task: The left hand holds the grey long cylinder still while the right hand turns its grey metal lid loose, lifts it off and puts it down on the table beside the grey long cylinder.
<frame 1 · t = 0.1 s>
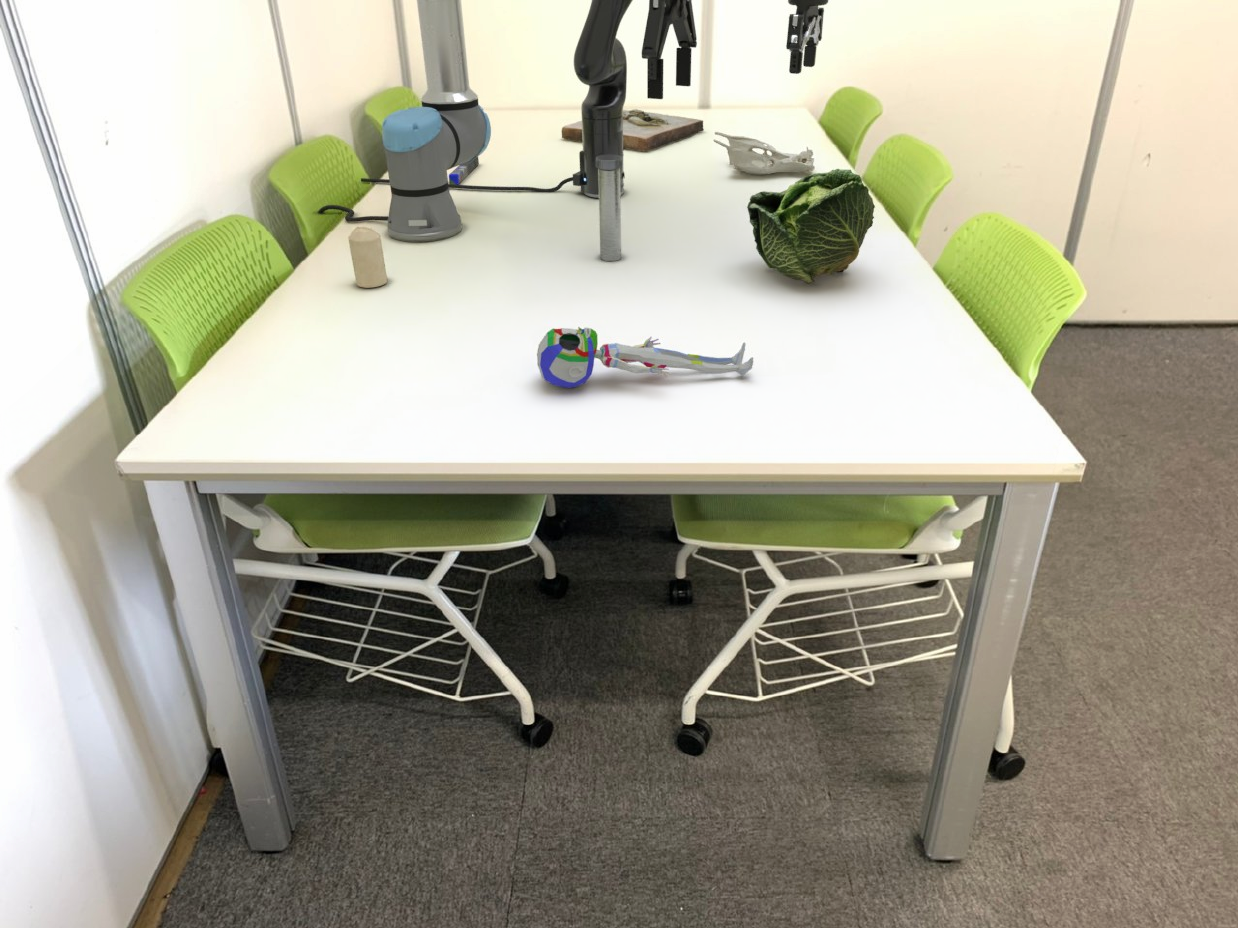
left hand: (669, 92, 165), 28 cm above the table, tool pointing down, fingers open, 13 cm apart
right hand: (802, 70, 176), 29 cm above the table, tool pointing down, fingers open, 8 cm apart
plaque: (633, 136, 259), on the table
vegetable: (806, 275, 162), on the table
candle: (372, 283, 162), on the table
grey long cylinder: (610, 257, 172), on the table
lid: (608, 159, 162), point 18 cm above the table, screwed on, not yet turned
toy: (644, 378, 129), on the table
pillar: (464, 174, 225), on the table
anatomical model: (762, 172, 223), on the table
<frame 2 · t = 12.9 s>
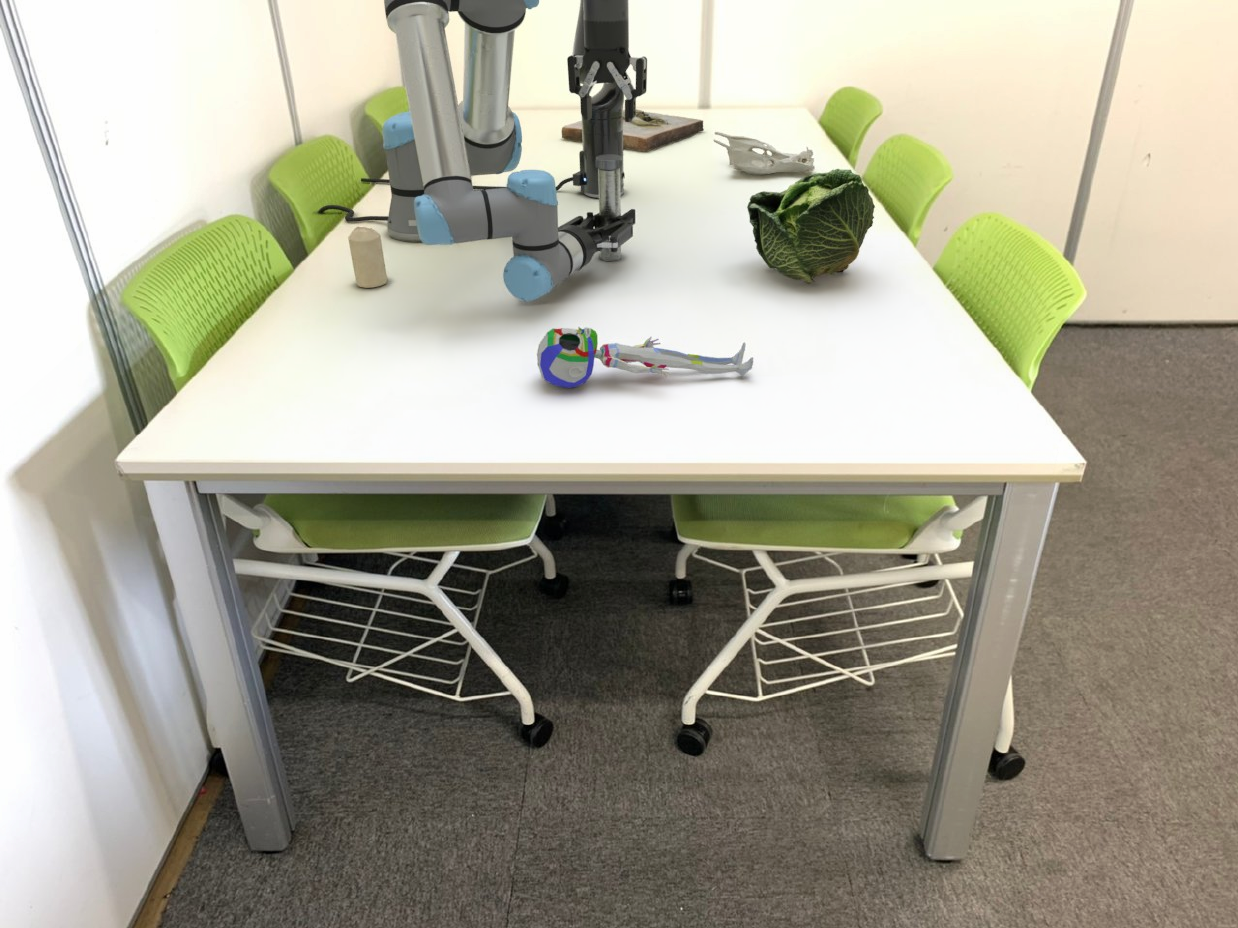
left hand: (622, 214, 172), 7 cm above the table, tool horizontal, fingers closed on grey long cylinder, 4 cm apart
right hand: (608, 120, 158), 25 cm above the table, tool pointing down, fingers open, 7 cm apart
grey long cylinder: (610, 257, 172), on the table, touching left hand
everything else where it was.
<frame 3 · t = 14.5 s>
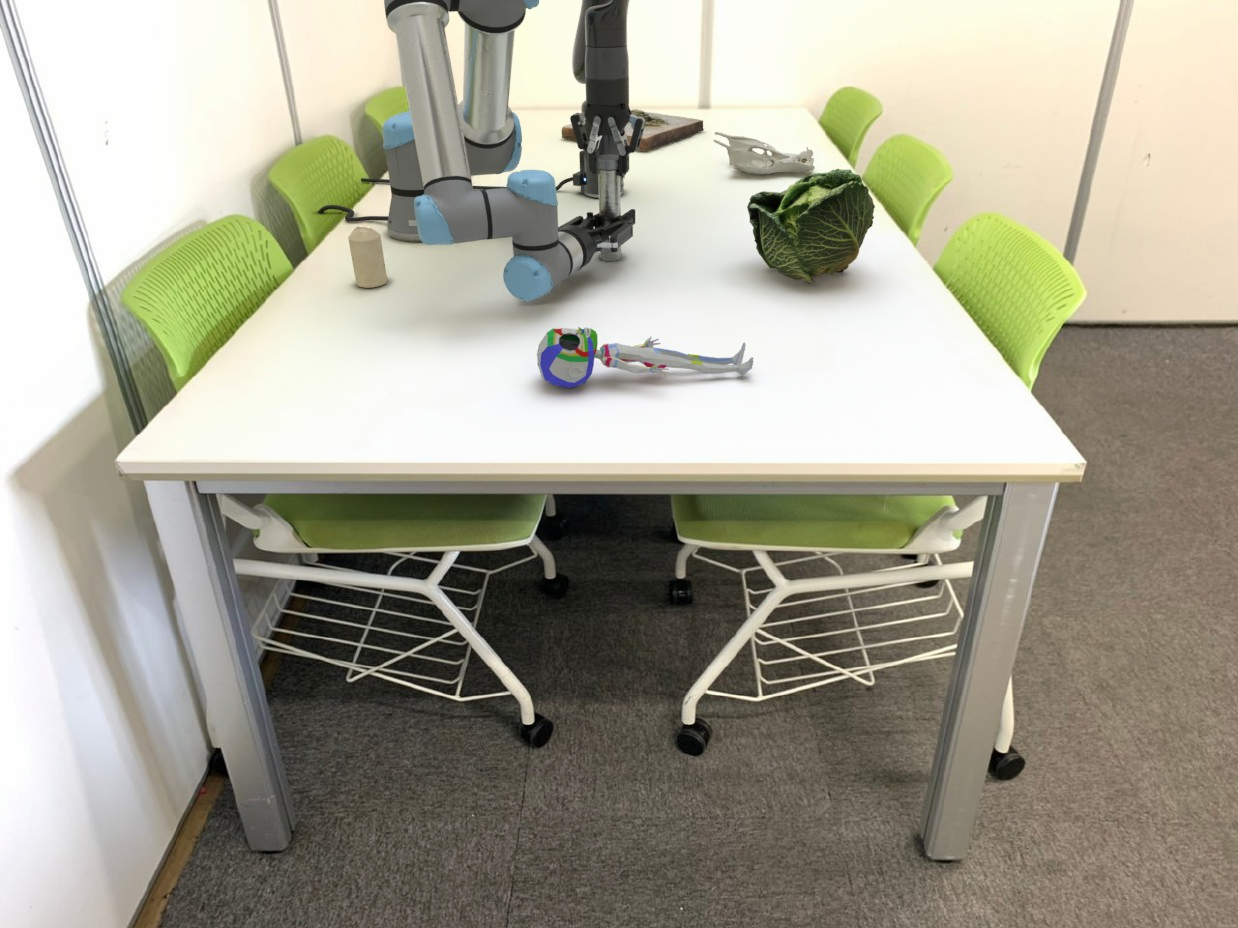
left hand: (622, 214, 172), 7 cm above the table, tool horizontal, fingers closed on grey long cylinder, 4 cm apart
right hand: (609, 174, 163), 16 cm above the table, tool pointing down, fingers closed on lid, 4 cm apart
grey long cylinder: (610, 257, 172), on the table, touching left hand
lid: (608, 159, 162), point 18 cm above the table, screwed on, not yet turned, touching right hand
everything else where it was.
when the right hand's fingers open (16 cm above the table, at t = 15.9 s): lid stays where it is, point 19 cm above the table.
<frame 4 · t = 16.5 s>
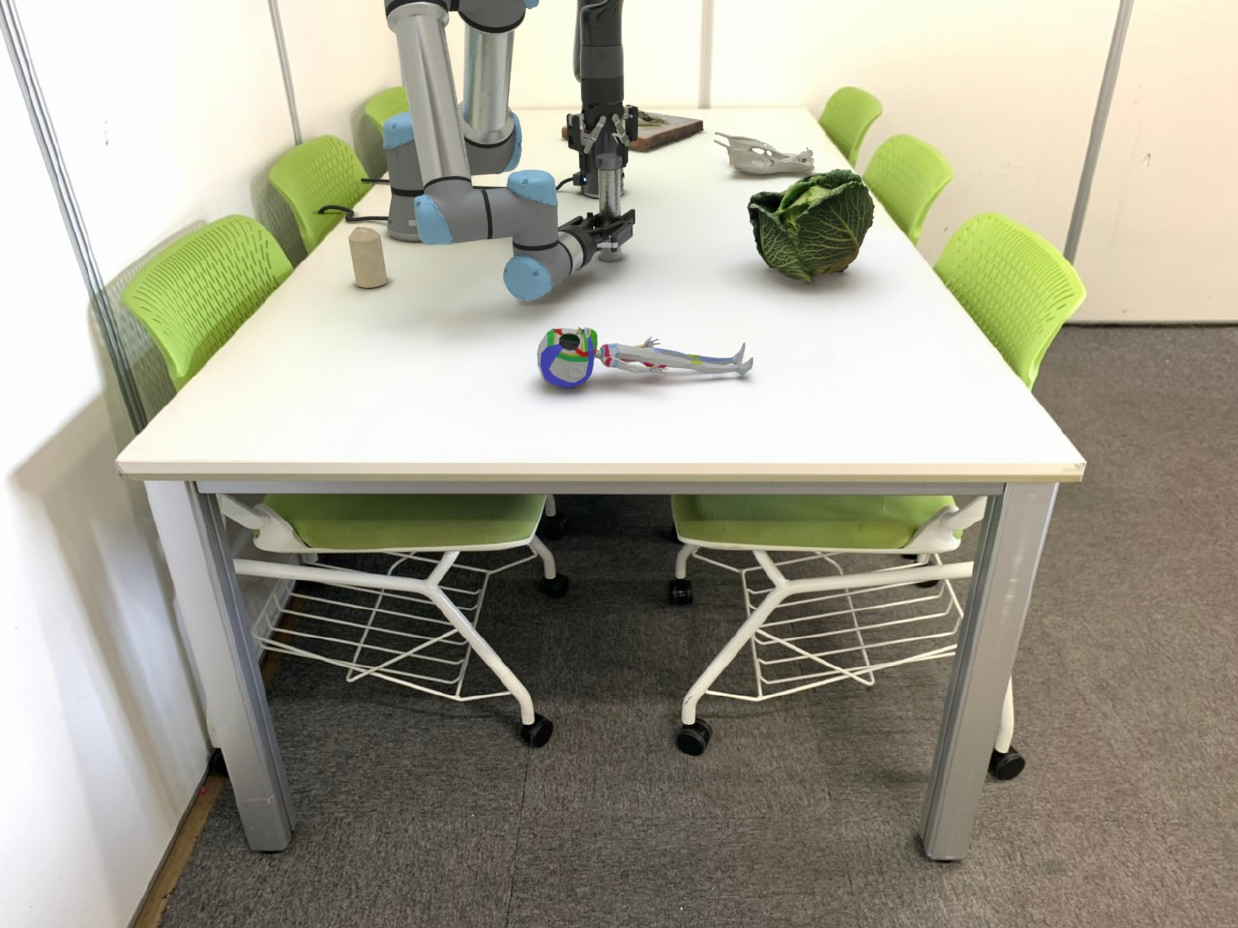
left hand: (622, 214, 172), 7 cm above the table, tool horizontal, fingers closed on grey long cylinder, 4 cm apart
right hand: (604, 170, 163), 17 cm above the table, tool pointing down, fingers open, 7 cm apart
grey long cylinder: (610, 257, 172), on the table, touching left hand
lid: (608, 158, 162), point 19 cm above the table, turned 81° so far, risen 0.2 cm, still on its thread
everything else where it was.
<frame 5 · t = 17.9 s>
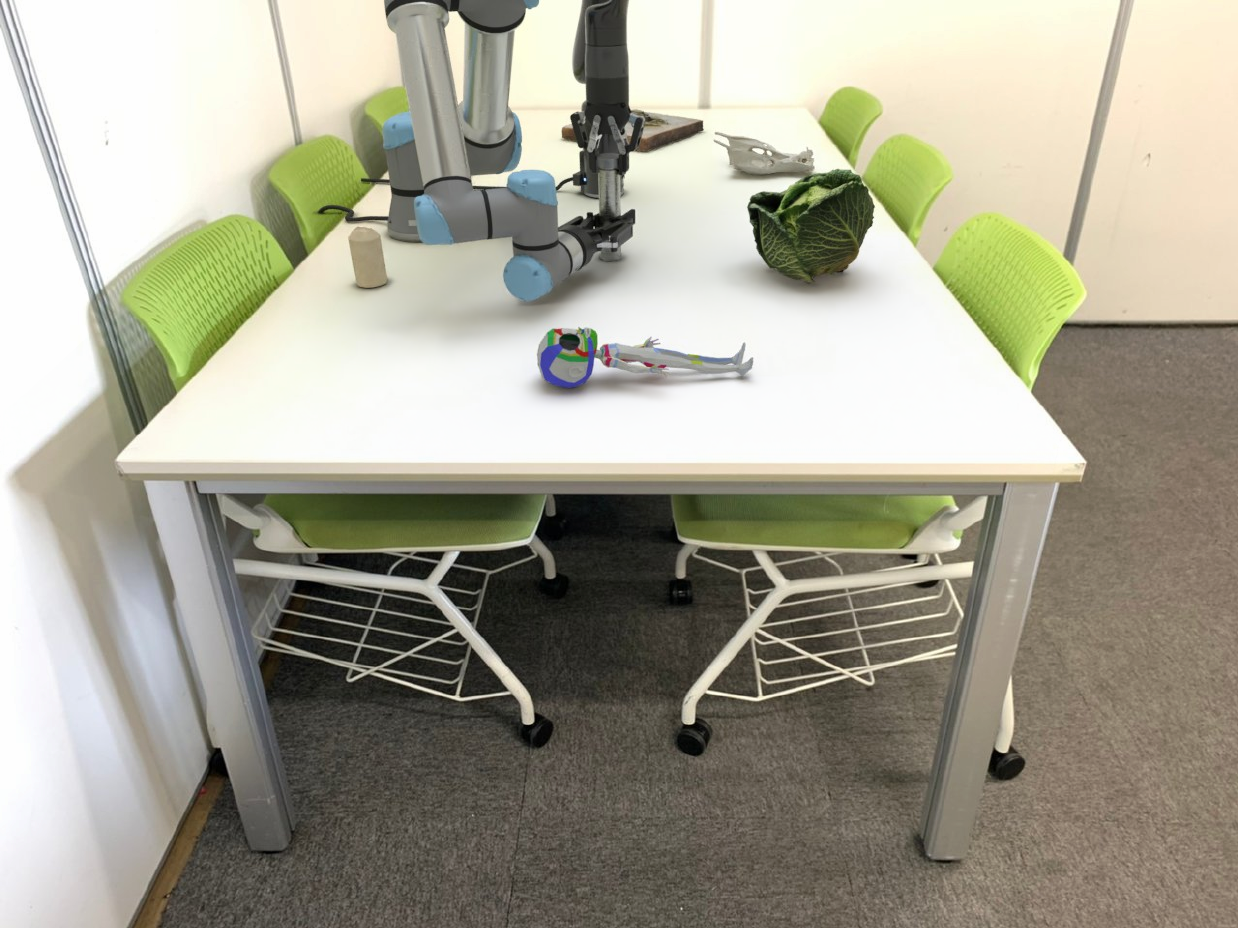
left hand: (622, 214, 172), 7 cm above the table, tool horizontal, fingers closed on grey long cylinder, 4 cm apart
right hand: (609, 173, 163), 16 cm above the table, tool pointing down, fingers closed on lid, 4 cm apart
grey long cylinder: (610, 257, 172), on the table, touching left hand
lid: (608, 158, 162), point 19 cm above the table, turned 81° so far, risen 0.2 cm, still on its thread, touching right hand
everything else where it was.
when the right hand's fingers open (0 cm above the table, at t = 24.4 s): lid drops 2 cm, point 1 cm above the table.
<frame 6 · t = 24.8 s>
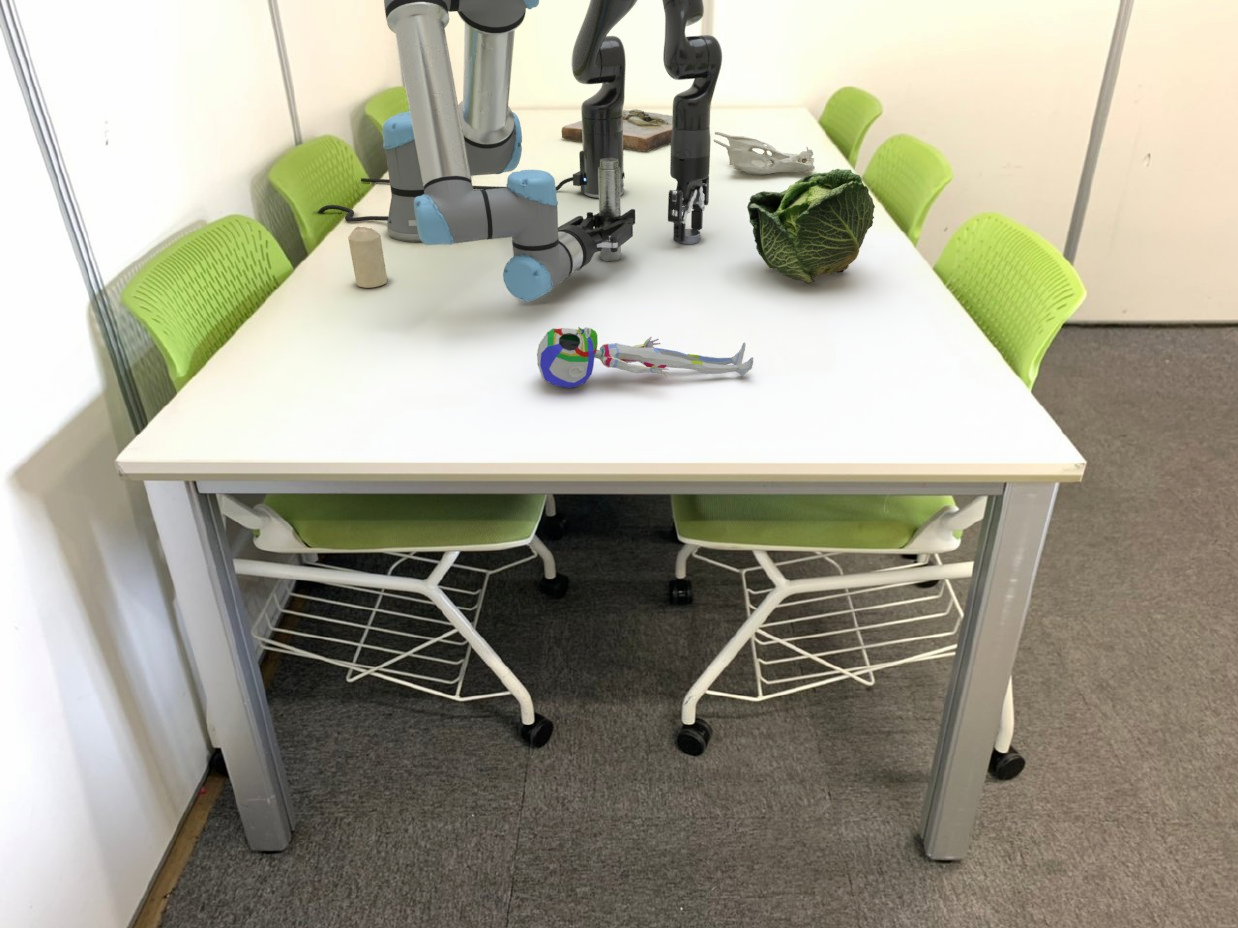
left hand: (622, 214, 172), 7 cm above the table, tool horizontal, fingers closed on grey long cylinder, 4 cm apart
right hand: (688, 235, 179), 1 cm above the table, tool pointing down, fingers open, 8 cm apart
grey long cylinder: (610, 257, 172), on the table, touching left hand
lid: (688, 234, 179), point 1 cm above the table, off its thread
everything else where it was.
when the left hand's fingers open (7 cm above the table, at t = 25.3 s): grey long cylinder stays where it is, on the table.
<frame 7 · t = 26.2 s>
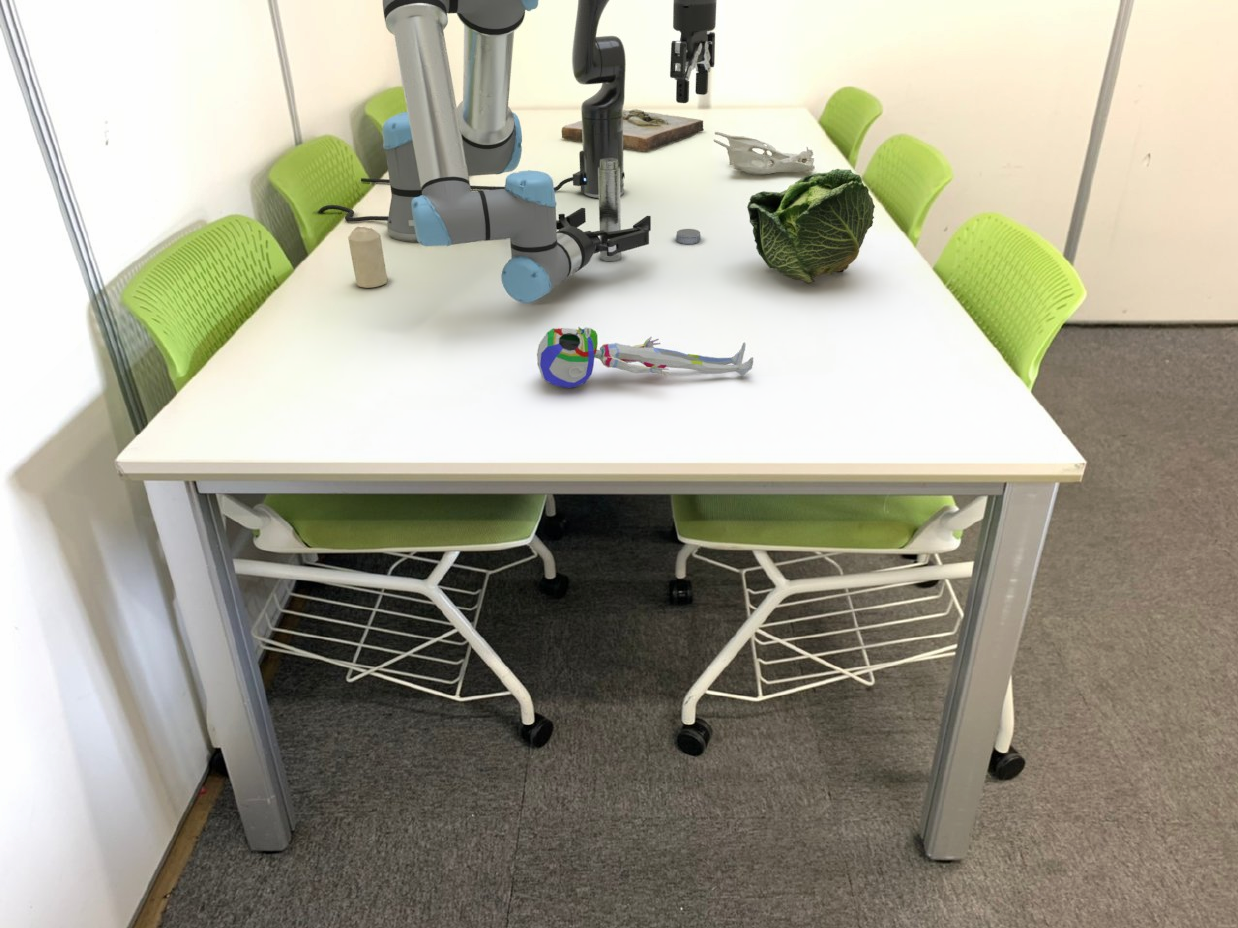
left hand: (615, 218, 170), 7 cm above the table, tool horizontal, fingers open, 13 cm apart
right hand: (692, 98, 165), 27 cm above the table, tool pointing down, fingers open, 8 cm apart
grey long cylinder: (610, 258, 172), on the table
everything else where it was.
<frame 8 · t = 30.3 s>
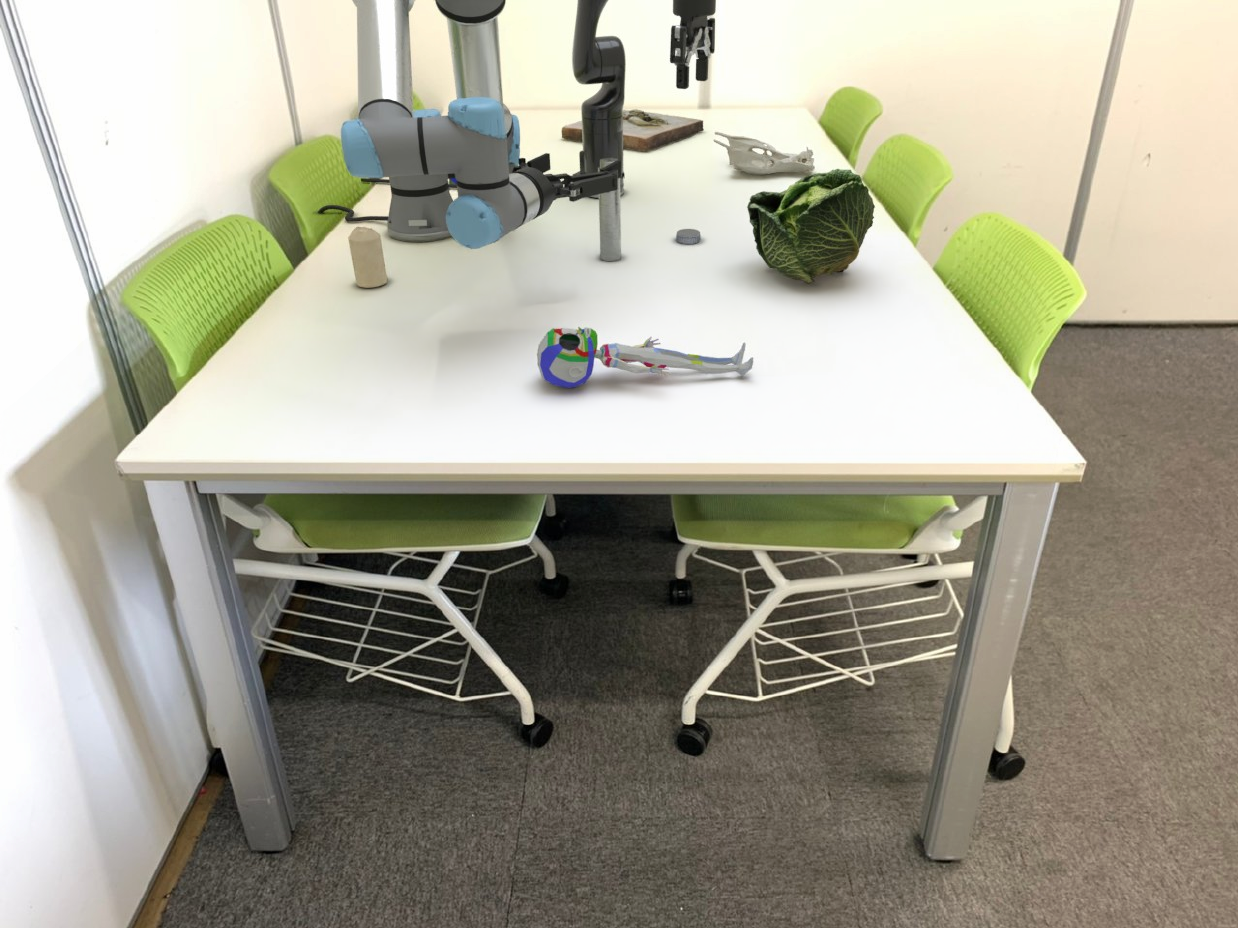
left hand: (583, 165, 153), 20 cm above the table, tool horizontal, fingers open, 13 cm apart
right hand: (692, 84, 164), 29 cm above the table, tool pointing down, fingers open, 8 cm apart
nothing on the table moved.
at the end: lid came off its thread; lid point 1.3 cm above the table; the left hand is holding nothing; the right hand is holding nothing; grey long cylinder tilted 0°; grey long cylinder moved 0.0 cm from its start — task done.
